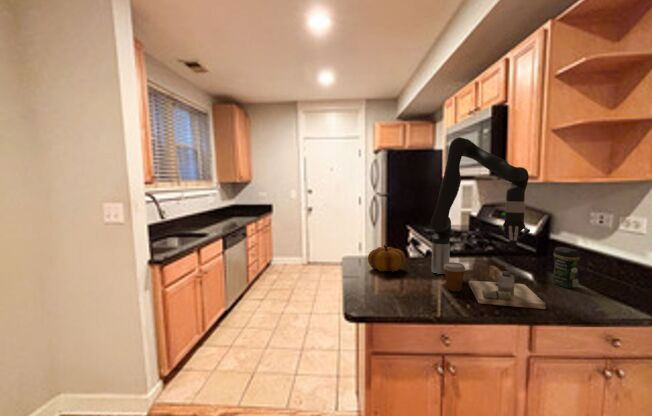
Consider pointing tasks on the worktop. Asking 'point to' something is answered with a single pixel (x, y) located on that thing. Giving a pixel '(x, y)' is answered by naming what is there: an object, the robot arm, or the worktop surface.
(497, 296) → the level stand
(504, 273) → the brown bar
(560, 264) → the coffee jar
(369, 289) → the worktop surface
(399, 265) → the decorative pumpkin
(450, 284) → the disposable coffee cup
